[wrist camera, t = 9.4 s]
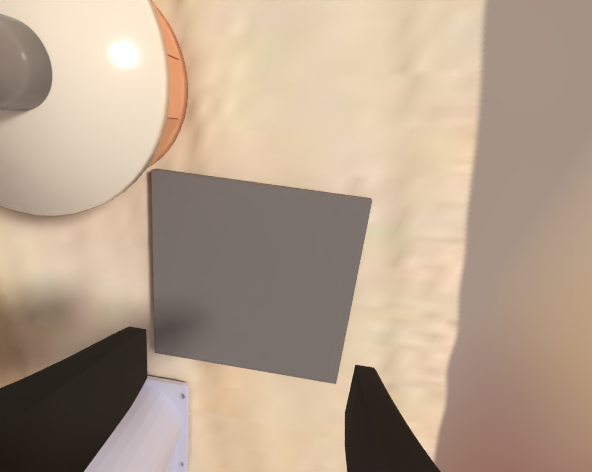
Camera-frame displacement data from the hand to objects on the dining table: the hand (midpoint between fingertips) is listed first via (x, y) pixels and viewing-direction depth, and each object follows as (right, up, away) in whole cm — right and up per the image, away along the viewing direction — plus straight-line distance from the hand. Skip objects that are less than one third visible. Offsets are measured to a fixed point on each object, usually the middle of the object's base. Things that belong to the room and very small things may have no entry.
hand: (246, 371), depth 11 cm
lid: (-10, +12, +3) cm, 16 cm away
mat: (-1, +2, +11) cm, 11 cm away
